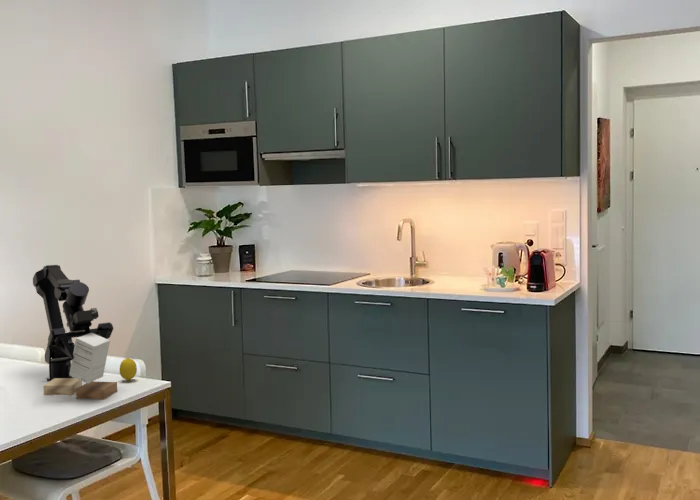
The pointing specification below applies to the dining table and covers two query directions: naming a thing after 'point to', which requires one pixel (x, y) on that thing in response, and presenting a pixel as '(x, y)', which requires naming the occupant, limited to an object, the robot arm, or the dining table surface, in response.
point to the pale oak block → (62, 386)
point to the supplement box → (89, 357)
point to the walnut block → (96, 390)
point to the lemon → (128, 369)
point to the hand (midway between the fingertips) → (88, 356)
